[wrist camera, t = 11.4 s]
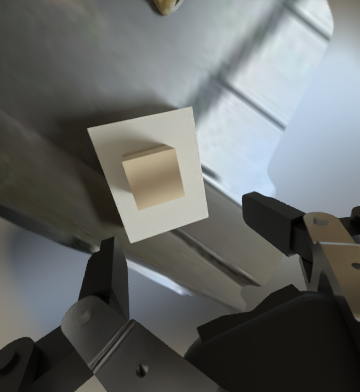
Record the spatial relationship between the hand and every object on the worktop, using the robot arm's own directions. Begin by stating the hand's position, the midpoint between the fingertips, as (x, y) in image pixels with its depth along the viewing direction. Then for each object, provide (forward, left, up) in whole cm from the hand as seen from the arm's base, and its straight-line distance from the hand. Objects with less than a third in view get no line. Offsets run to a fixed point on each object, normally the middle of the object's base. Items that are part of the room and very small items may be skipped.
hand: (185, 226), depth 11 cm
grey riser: (+2, +1, -22) cm, 22 cm away
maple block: (0, 0, -17) cm, 17 cm away
